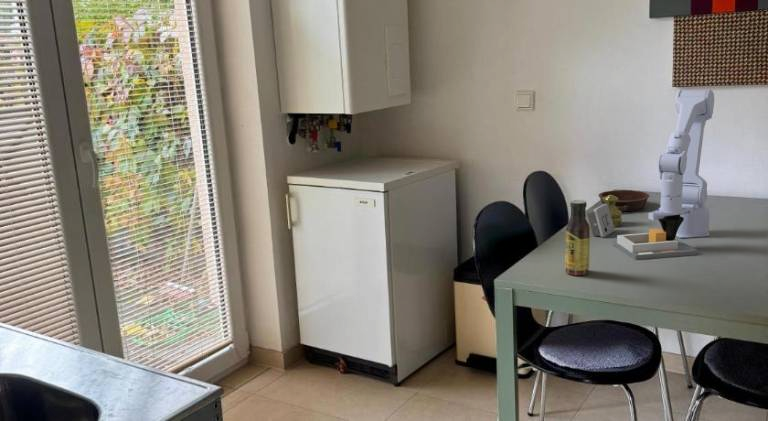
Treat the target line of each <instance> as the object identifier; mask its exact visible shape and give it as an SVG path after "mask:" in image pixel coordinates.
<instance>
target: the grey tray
mask: <svg viewBox="0 0 768 421" xmlns="http://www.w3.org/2000/svg"><path fill="white" fill-rule="evenodd" d="M612 246H614V247H616V248H617V249H619V250H620V251H622V252H623V253H625V254H626V255H628V256H629V257H630V258H632V259H633V260H635V261H636V260H637V261H638V260H649V259H650V258H651V259H661V257H663V258H673V257H686V256H697V255H698V254H699V253H698V252H699V251H698V249H696V248H694V247H692V246H690V245H688V244H687V243H685V242H683V241H681V240H679V239H678V238H676V237H675V240H674V241H662V242H650V243H649V232H643V233H629V234H617V238H616V239H615V240H612Z"/></svg>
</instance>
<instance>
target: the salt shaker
mask: <svg viewBox="0 0 768 421" xmlns="http://www.w3.org/2000/svg"><path fill="white" fill-rule="evenodd" d="M603 201H605V203H606V204H608V207H609V211H610V214H611V218H612V221H613V225H614V228H618V227H621V226H622V224H623V222H622V221H623V218H622V215H623V211H622V212H621V211H620V210H619V209H618V208H617V207H616V206H615V203H616V202H617V201H618V198H617V197H615V196H613V195H608V196H606V197H604V198H603Z"/></svg>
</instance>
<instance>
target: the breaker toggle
mask: <svg viewBox="0 0 768 421" xmlns="http://www.w3.org/2000/svg"><path fill="white" fill-rule="evenodd" d="M648 233H649V243H650V242H662V241H666V232H665V231H663V229H660V228H649V229H648Z"/></svg>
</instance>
